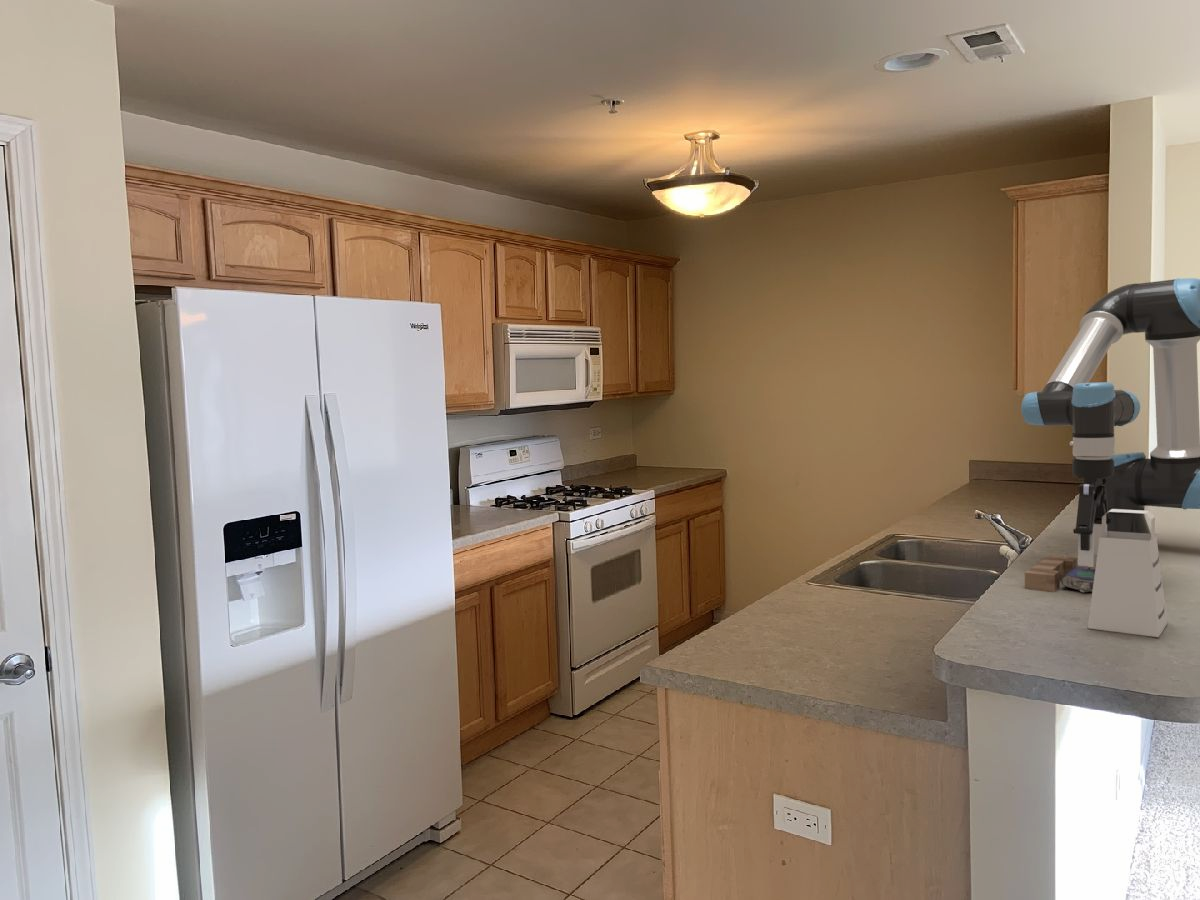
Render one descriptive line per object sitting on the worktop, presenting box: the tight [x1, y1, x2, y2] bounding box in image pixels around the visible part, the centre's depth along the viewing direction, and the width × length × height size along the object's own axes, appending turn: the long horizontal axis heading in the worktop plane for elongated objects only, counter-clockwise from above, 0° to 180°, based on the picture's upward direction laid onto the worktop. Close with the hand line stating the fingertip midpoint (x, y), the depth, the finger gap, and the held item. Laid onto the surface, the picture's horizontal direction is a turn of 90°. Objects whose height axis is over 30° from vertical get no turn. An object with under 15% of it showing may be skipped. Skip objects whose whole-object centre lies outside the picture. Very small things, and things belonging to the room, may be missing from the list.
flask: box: [1060, 565, 1096, 593], centre depth 180 cm, size 9×3×11 cm
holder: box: [1024, 555, 1078, 593], centre depth 184 cm, size 21×21×4 cm
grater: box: [1087, 509, 1168, 638], centre depth 153 cm, size 10×10×20 cm
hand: (1092, 560), depth 183 cm, fingers open, 13 cm apart
